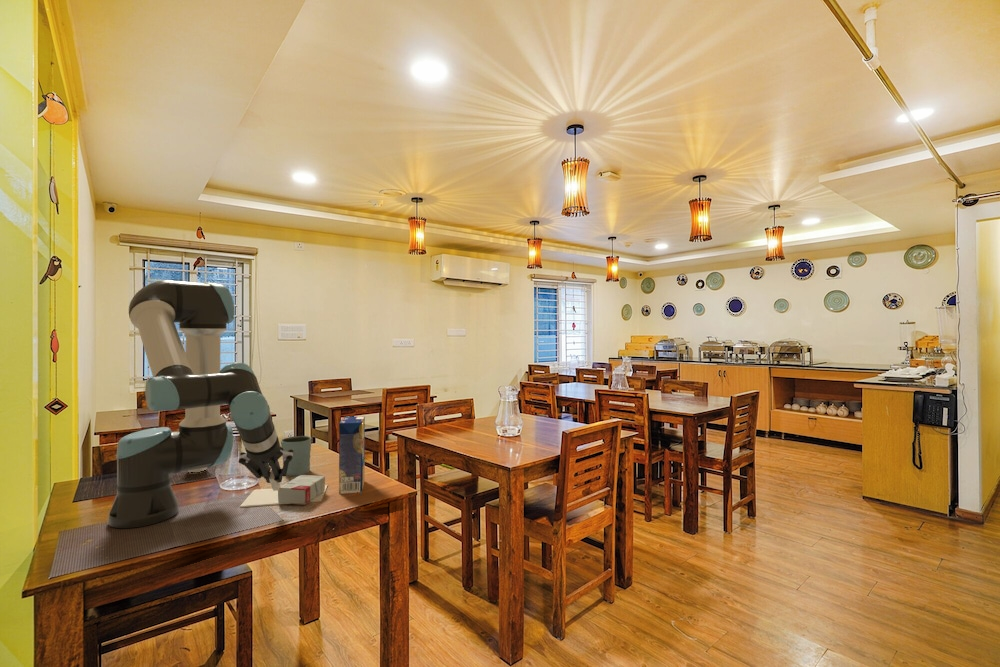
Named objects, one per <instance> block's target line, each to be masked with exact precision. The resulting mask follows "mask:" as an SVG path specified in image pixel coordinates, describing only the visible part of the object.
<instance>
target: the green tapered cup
mask: <svg viewBox="0 0 1000 667" xmlns="http://www.w3.org/2000/svg"><path fill="white" fill-rule="evenodd" d="M280 446H281V447H282V448H283V450H284V451H287V452H288V451H289V450H293V457H292V460H291V461H290V462H289V465H288V469H287V474H286V477H287V476H288V477H298V476H300V475H307V474H308V473H310V470H311V450H312V437H311V436H308V435H295V436H289V437H285V438H282V439H281V440H280ZM283 464H284V458H283V457H282V465H283Z"/></svg>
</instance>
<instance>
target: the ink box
mask: <svg viewBox="0 0 1000 667" xmlns="http://www.w3.org/2000/svg"><path fill="white" fill-rule="evenodd" d="M325 485H326V476H324V475H309V474H308V475H307V474H303V475H297V476H295V477H294V478H292V479H291V480H290V481H287V482H286V483H284V484H282V485H280V488H279V490H278V503H279V504H280V505H297V506H300V505H301V506H305V505H306V504H308V503H310V502H309V501H311V500H312V499H314V498H315V497H316V496H318V495H319V494H321V493H322V492H324V491H325ZM325 492H326V491H325Z"/></svg>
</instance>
